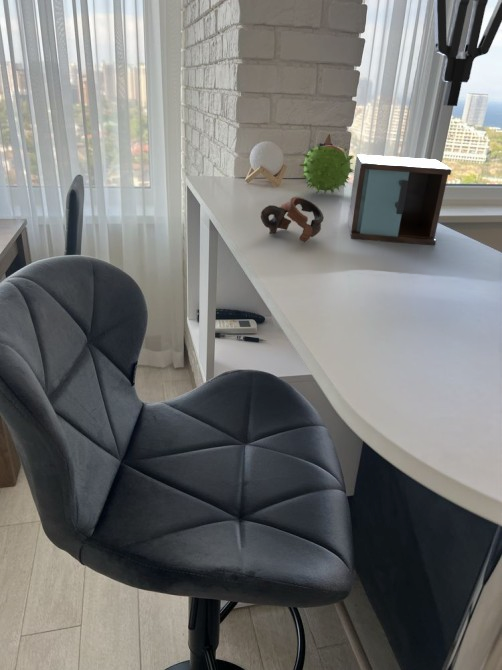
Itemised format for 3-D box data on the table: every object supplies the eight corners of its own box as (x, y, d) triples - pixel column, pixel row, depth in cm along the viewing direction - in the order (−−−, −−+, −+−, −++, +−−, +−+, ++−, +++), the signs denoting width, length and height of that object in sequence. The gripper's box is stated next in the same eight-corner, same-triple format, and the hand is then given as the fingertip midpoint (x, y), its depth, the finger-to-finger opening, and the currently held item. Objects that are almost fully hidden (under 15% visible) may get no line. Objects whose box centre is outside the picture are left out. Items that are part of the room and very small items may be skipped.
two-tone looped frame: (295, 229, 104) (317, 197, 99) (311, 261, 99) (335, 230, 93) (246, 218, 97) (266, 183, 92) (260, 251, 92) (282, 217, 87)
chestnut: (282, 158, 132) (307, 141, 142) (300, 209, 138) (323, 189, 148) (332, 141, 123) (355, 124, 133) (349, 196, 128) (371, 177, 138)
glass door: (397, 236, 98) (409, 170, 92) (400, 242, 94) (413, 173, 89) (359, 233, 99) (369, 167, 93) (361, 239, 95) (371, 170, 89)
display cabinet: (422, 227, 109) (436, 159, 103) (435, 245, 97) (451, 169, 90) (347, 221, 110) (356, 154, 104) (350, 238, 98) (361, 163, 92)
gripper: (446, -91, 67) (412, 103, 78) (548, -89, 66) (499, 108, 77) (434, -75, 74) (404, 102, 84) (527, -72, 73) (485, 107, 83)
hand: (450, 105), depth 80 cm, fingers closed
